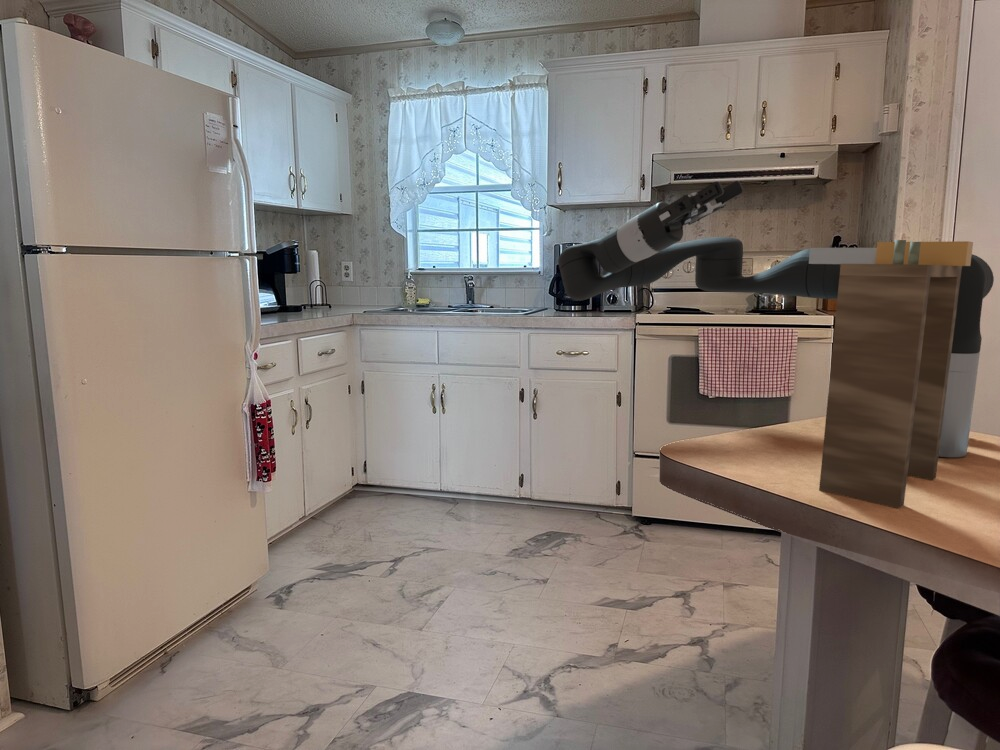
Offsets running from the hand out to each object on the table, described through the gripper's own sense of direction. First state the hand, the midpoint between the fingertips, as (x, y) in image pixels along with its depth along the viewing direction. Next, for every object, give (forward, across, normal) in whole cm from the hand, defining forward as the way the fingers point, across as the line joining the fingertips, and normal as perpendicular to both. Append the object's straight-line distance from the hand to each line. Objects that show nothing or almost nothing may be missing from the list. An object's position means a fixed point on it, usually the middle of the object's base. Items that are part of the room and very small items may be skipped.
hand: (731, 186), depth 111 cm
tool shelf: (+4, +8, -50) cm, 50 cm away
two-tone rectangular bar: (+15, 0, -21) cm, 26 cm away
